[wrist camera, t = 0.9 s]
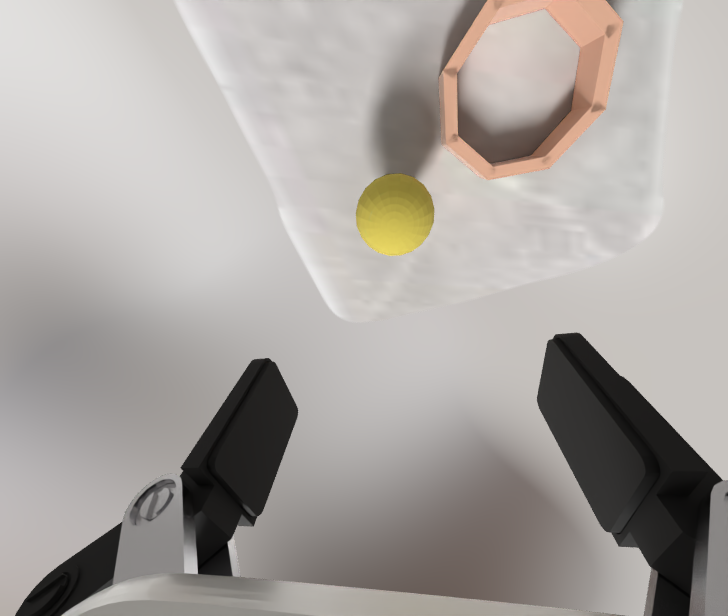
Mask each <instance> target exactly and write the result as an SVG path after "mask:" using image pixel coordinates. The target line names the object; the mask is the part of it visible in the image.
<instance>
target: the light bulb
mask: <svg viewBox="0 0 728 616" xmlns="http://www.w3.org/2000/svg"><path fill="white" fill-rule="evenodd" d="M356 221H357V227H358V230H359V232H360V235H361V237H362V239H363V240H364V241H365V242H366V243H367V245H368V246H369V247H371V248H372V249H374V250H375V251H377V252H378V253H382V254H385V255H389V256H393V255H403V254H406V253H409V252H411V251H413V250H414V249H416V248H417V247H418V246H420V245H421V244H422V243H423V241H424V240H425V239H426V238H427V236H428V235H429V233H430V230H431V228H432V225H433V222H434V206H433V202H432V198H431V195H430V194H429V192H428V191H427V189H426V188H425V186H424V185H423V184H422V183H421V182H419V181H418V180H417V179H415V178H414V177H411V176H408V175H404V174H401V173H399V174H387V175H385V176H382V177H380V178H378V179H375V180H374V181H373V182H372V183H371V184H370V185H369V186H368V187H366V188H365V190H364V192H363V194H362V195H361V197H360V199H359V202H358V206H357V210H356Z"/></svg>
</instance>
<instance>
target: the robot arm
mask: <svg viewBox="0 0 728 616" xmlns="http://www.w3.org/2000/svg"><path fill="white" fill-rule="evenodd" d="M537 402H538V406H539V409H540V411H541V413H542V414H543V416H544V418H545V420H546V422H547V424H548V426H549V428H550V430H551V432H552V434H553V435H554V437H555V439H556V441H557V443H558V445H559V447H560V449H561V451H562V453H563V455H564V456H565V458H566V460H567V462H568V464H569V466H570V468H571V470H572V471H573V474H574V476H575V478H576V479H577V481H578V483H579V485H580V487H581V489H582V491H583V493H584V495H585V497H586V498H587V500H588V502H589V504H590V506H591V508H592V510H593V512H594V514H595V516H596V518H597V519H598V521H599V523H600V525H601V526H602V527H603V529H604V530H605V531H606V532H611V533H612V535H613V537H614V538H615V540H616V542H617V544H618V546H620V547H637V548H639V549H640V550H641V552H642V554H643V556H644V557H645V559H646V561H647V562H648V564H649V566H650V567H651V574H650V580H649V587H648V592H647V598H646V605H645V611H644V616H728V480H726V481H723V480H722V479H721V478H720V477H719V476H718V475H717V474H716V473H715V471H713V469H712V468H711V467H710V466H709V465H708V464H707V463H706V462H705V461H704V460H703V459H702V458H701V457H700V456H699V455H698V454H697V453H696V452H695V451H694V450H693V448H692V447H691V446H690V445H689V444H688V443H687V442H686V441H685V440H684V439H683V438H682V437H681V436H680V435H679V434H678V433H677V432H676V430H675V429H674V428H673V427H672V426H671V425H670V424H669V423H668V422H667V421H666V420H665V419H664V418H663V417H662V416H661V415H660V414H659V413H658V412H657V411H656V409H655V408H654V407H653V406H652V405H651V404H650V403H649V402H648V401H647V400H646V399H645V398H644V397H643V396H642V395H641V394H640V393H639V392H638V391H637V389H635V388H634V386H633V385H632V384H631V383H630V382H629V381H628V380H626V379H625V378H624V377H622V376H620V375H619V374H618V373H617V372H616V371H615V370H614V369H613V368H612V367H611V366H610V365H609V364H608V363H607V361H606V360H605V359H604V358H603V357H602V356H601V355H600V354H599V353H598V352H597V351H596V350H595V349H594V348H593V347H592V346H591V344H589V342H588V341H586V339H585V338H584V337H583V336H582V335H581V334H580V333H567V334H557V335H555V336H554V338H553V339H552V340H549V341H548V343H547V348H546V353H545V358H544V364H543V369H542V374H541V379H540V385H539V390H538V396H537ZM297 416H298V408H297V406H296V404H295V402H294V400H293V398H292V396H291V393H290V392H289V389H288V387H287V385H286V383H285V381H284V379H283V377H282V375H281V373H280V371H279V369H278V367H277V365H276V363H275V362H272V361H271V360H270V359H269V358H265V359H254V360H252V361H251V363H250V364H249V366H248V367H247V369H246V370H245V372H244V373H243V375H242V376H241V378H240V379H239V381H238V382H237V384H236V385H235V387H234V388H233V390H232V391H231V393H230V394H229V396H228V397H227V399H226V400H225V402H224V403H223V405H222V406H221V408H220V409H219V411H218V412H217V414H216V415H215V417H214V418H213V420H212V421H211V423H210V424H209V426H208V427H207V429H206V430H205V432H204V433H203V435H202V436H201V438H200V439H199V441H198V442H197V444H196V445H195V447H194V448H193V450H192V451H191V453H190V454H189V456H188V457H187V459H186V460H185V462H184V463H183V465H182V467H181V469H182V470H183V472H182V474H181V475H180V476H178V475H177V474H172V473H170V474H166V475H162V476H160V477H159V478H156V479H155V480H153V481H152V482H150V483H149V484H148V485H146V486H145V487H144V488H143V489H142V490H141V491H140V492H139V493H138V494H137V495H136V497H135V498H134V499H133V500H132V502H131V503H130V505H129V506H128V508H127V510H126V512H125V515H124V518H123V522H121V523H120V524H118V525H117V526H116V527H114V528H113V529H111V530H110V531H108V532H107V533H106V534H104V535H103V536H101V537H100V538H98V539H97V540H95V541H94V542H92V543H91V544H90V545H88V546H87V547H86V548H84V549H82V550H81V551H80V552H78V553H77V554H75V555H74V556H72V557H71V558H69V559H68V560H67V561H65V562H64V563H62V564H61V565H59V566H58V567H57V568H56V569H54V570H53V571H52V572H50V573H49V574H48V575H47V576H46V577H45V578H44V579H43V580H42V581H41V582H40V583H39V584H38V585H37V586H36V587H35V588H34V589H33V590H32V591H31V593H30V594H29V595H28V597H27V598H26V599H25V600H24V602H23V603H22V605H21V607H20V608H19V610H18V611H17V613H16V615H15V616H623V615H615V614H606V613H598V612H590V611H582V610H573V609H564V608H554V607H544V606H534V605H524V604H514V603H504V602H495V601H485V600H474V599H465V598H456V597H445V596H435V595H424V594H415V593H404V592H394V591H383V590H374V589H363V588H353V587H341V586H332V585H321V584H311V583H300V582H289V581H277V580H267V579H255V578H245V577H241V576H240V570H239V564H238V558H237V553H236V547H235V541H234V535H233V534H234V532H235V529H236V527H237V525H239V526H254V524H255V521H256V518H257V516H259V515H260V514H261V513H262V511H263V509H264V507H265V504H266V501H267V498H268V496H269V493H270V490H271V488H272V485H273V482H274V480H275V477H276V474H277V471H278V468H279V466H280V463H281V460H282V458H283V455H284V452H285V449H286V447H287V444H288V441H289V438H290V436H291V433H292V430H293V428H294V425H295V422H296V419H297Z"/></svg>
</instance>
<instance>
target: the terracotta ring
mask: <svg viewBox="0 0 728 616" xmlns="http://www.w3.org/2000/svg"><path fill="white" fill-rule="evenodd" d="M541 9H546V10H547V11H548V12H549V13H550V14H551V16H552V17H553V18H554V19H555V20H556V21H557V22H558V23H559V24H560V26H561V27H562V28H563V29H564V30H565V31H566V32H567V33H568V34H569V36H570V37H571V38H572V39H573V40H574V41H575V42H576V43H577V44H578V46H579V47H580V55H579V61H578V68H577V74H576V81H575V88H574V94H573V101H572V107H571V111H570V112H569V113H568V115H567V116H566V117H565V118H564V119H563V120H562V121H561V122H560V123H559V125H558V126H557V127H556V128H555V129H554V130H553V131H552V132H551V134H550V135H549V136H548V137H547V138H546V139H545V140H544V141H543V142H542V144H541V145H540V146H539V147H538V148H537V149H536V150H535V151H534V152H533V154H532V155H531V156H527V157H522V158H517V159H512V160H507V161H502V162H497V163H492V164H489V163H488V162H487V161H486V160H485V159H484V158H483V157H482V156H480V155H479V154H478V153H477V152H476V151H475V150H474V149H472V148H471V147H470V146H469V145H468V144H467V143H466V142H464V141H463V140H462V139H461V138H460V137H459V136H458V111H457V72H458V71H459V69H460V68H461V66H462V65H463V63H464V62H465V60H466V59H467V57H468V56H469V54H470V53H471V51H472V50H473V48H474V47H475V45H476V43H477V42H478V40H479V39H480V37H481V36H482V34H483V33H484V31H485V30H486V28H487V27H488V25H490V24H493V23H497V22H500V21H504V20H507V19H511V18H514V17H517V16H521V15H524V14H528V13H531V12H535V11H538V10H541ZM622 26H623V20H622V19H621V18H620V17H619V16H618V14H617V13H616V12H615V11H614V10H613V8H612V7H611V6H610V5H609V4H608V2H607V1H606V0H487V2H486V3H485V5H484V6H483V8H482V10H481V11H480V13H479V14H478V16H477V17H476V19H475V21H474V22H473V24H472V25H471V27H470V29H469V30H468V32H467V33H466V35H465V36H464V38H463V40H462V41H461V43H460V44H459V46H458V48H457V49H456V51H455V52H454V54H453V55H452V57H451V59H450V60H449V62H448V63H447V65H446V67H445V68H444V70H443V71H442V73H441V75H440V77H439V78H438V80H439V103H440V127H441V145H442V146H444V147H445V148H446V149H447V150H448V151H449V152H451V153H452V154H453V155H454V156H455V157H456V158H458V159H459V160H460V161H461V162H462V163H464V164H465V165H466V166H467V167H468V168H469V169H471V170H472V171H473V172H474V173H475V174H476V175H478V176H479V177H480V178H483V179H486V180H491V179H496V178H502V177H507V176H512V175H518V174H523V173H528V172H534V171H539V170H544V169H549V168H550V167H551V166H552V165H553V164H554V163H555V162H556V161H557V160H558V159H559V158H560V157H561V155H562V154H563V153H564V152H565V151H566V150H567V149H568V148H569V147H570V146H571V145H572V144H573V143H574V142H575V141H576V140H577V139H578V138H579V137H580V136H581V135H582V133H583V132H584V131H585V130H586V129H587V128H588V127H589V126H590V125H591V124H592V123H593V122H594V121H595V120H596V119H597V118H598V117H599V116H600V115H601V114H602V113H603V111H604V110H606V105H607V100H608V95H609V90H610V85H611V80H612V75H613V70H614V66H615V61H616V56H617V51H618V46H619V41H620V36H621V31H622Z"/></svg>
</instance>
